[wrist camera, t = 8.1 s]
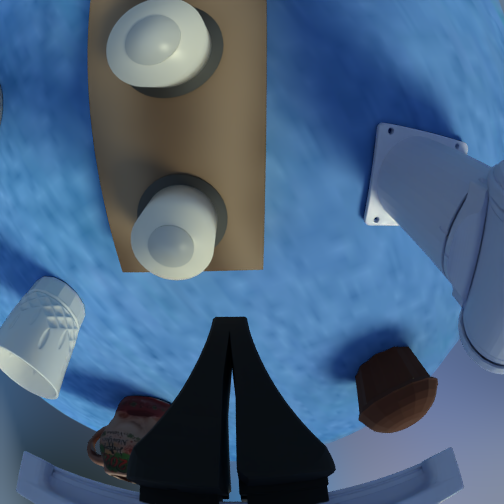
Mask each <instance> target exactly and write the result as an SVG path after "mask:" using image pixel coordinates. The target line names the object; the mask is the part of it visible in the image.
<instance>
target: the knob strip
mask: <svg viewBox="0 0 504 504" xmlns="http://www.w3.org/2000/svg"><path fill="white" fill-rule="evenodd" d="M145 1H147V0H91V1H90V12H89V26H88V89H89V104H90V116H91V125H92V134H93V142H94V149H95V156H96V162H97V168H98V174H99V179H100V184H101V190H102V194H103V199H104V204H105V208H106V213H107V217H108V221H109V225H110V229H111V233H112V237H113V240H114V244H115V248H116V251H117V255H118V258H119V261H120V265H121V268H122V271H123V272H149V271H148V270H147V269H145V268H144V267H143V266H142V265H141V264H140V262H139V261H138V260H137V258H136V257H135V255H134V252H133V250H132V246H131V232H132V228H133V226H134V224H135V222H136V221H137V219H138V218H139V216H140V215H141V213H142V212H143V210H144V209H145V207H146V206H147V204H148V203H149V202H150V200H151V199H152V197H153V196H154V195H155V194H156V193H157V192H159V191H160V190H162V189H163V188H166V187H169V186H172V185H187V186H191V187H193V188H196V189H198V190H200V191H201V192H203V193H204V194H205V195H206V196H207V197H208V198H209V199H210V200H211V202H212V203H213V205H214V207H215V209H216V213H217V229H216V237H215V245H214V253H213V257H212V259H211V262H210V263H209V265H208V266H207V267H206V269H205V270H204V271H230V270H263V254H264V215H265V167H266V90H267V0H182V1H184V2H186V3H188V4H190V5H191V6H192V7H194V8H195V9H196V10H197V11H198V13H199V14H200V16H201V18H202V20H203V22H204V24H205V26H206V28H207V30H208V32H209V34H210V38H211V53H210V56H209V59H208V61H207V63H206V65H205V66H204V68H203V69H202V70H201V71H200V72H199V73H198V74H197V75H196V76H195V77H194V78H192V79H191V80H189V81H187V82H186V83H183V84H181V85H178V86H174V87H166V88H161V87H138V86H133V85H130V84H127V83H125V82H123V81H122V80H120V79H119V78H118V77H117V76H116V75H115V74H114V73H113V72H112V70H111V68H110V66H109V64H108V61H107V55H106V47H107V41H108V38H109V35H110V33H111V31H112V29H113V27H114V25H115V24H116V23H117V21H118V20H119V19H120V18H121V17H122V16H123V15H124V14H125V13H126V12H127V11H128V10H130V9H131V8H133V7H134V6H136V5H138V4H140V3H142V2H145Z"/></svg>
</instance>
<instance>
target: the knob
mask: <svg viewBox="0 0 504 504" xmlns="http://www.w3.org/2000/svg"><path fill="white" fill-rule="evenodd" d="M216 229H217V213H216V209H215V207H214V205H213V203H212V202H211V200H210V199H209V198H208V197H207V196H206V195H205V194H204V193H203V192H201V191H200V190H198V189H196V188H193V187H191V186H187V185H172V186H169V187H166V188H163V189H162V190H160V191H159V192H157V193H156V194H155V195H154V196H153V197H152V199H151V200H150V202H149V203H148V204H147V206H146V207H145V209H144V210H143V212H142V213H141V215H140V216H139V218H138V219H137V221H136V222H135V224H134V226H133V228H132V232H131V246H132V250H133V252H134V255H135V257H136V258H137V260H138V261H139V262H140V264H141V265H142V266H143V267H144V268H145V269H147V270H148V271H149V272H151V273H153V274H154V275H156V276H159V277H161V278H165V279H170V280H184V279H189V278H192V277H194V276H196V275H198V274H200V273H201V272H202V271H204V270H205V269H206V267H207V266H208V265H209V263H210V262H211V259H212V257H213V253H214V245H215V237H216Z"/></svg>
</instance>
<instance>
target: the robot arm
mask: <svg viewBox="0 0 504 504" xmlns="http://www.w3.org/2000/svg"><path fill="white" fill-rule="evenodd" d="M389 128H391V133H390V134H389V133H388V129H389ZM455 145H456V147H455ZM467 151H468V146H467V144H466V143H464V142H462V141H458V140H455V139H452V138H448V137H445V136H441V135H437V134H433V133H430V132H426V131H421V130H417V129H413V128H408V127H404V126H399V125H394V124H388V123H380V124H379V125H378V126H377V132H376V142H375V150H374V158H373V165H372V172H371V179H370V185H369V191H368V197H367V203H366V208H365V214H364V222H365V223H366V224H367V225H387V226H400V227H401V228H402V229H403V230H404V231H405V232H406V233H407V234H408V235H409V236H410V237H411V238H412V239H413V240H414V241H415V242H416V244H417V245H418V246H419V247H420V248H421V249H422V250H423V251H424V252H425V253H426V255H427V256H428V257H429V258H430V259H431V260H432V261H433V263H434V264H435V265H436V266H437V267H438V268H439V270H440V271H441V272H442V273H443V274H444V276H445V277H446V278H447V279H448V280H449V282H450V283H451V284H452V287H453V292H452V295H453V296H454V298H455V299H456V300H457V302H458V303H459V304H460V306H461V307H462V309H461V312H460V315H459V322H458V329H459V336H460V340H461V342H462V345H463V347H464V349H465V350H466V352H467V353H468V355H469V356H470V357H471V359H472V360H473V361H474V362H475V363H477V364H478V365H479V366H480V367H482V368H484V369H485V370H487V371H490V372H493V373H498V374H504V160H503V161H501V162H500V163H499V164H496V165H495V166H493V167H490V166H488V165H486V164H484V163H482V162H480V161H478V160H476V159H474V158H472V157H470V156H468V155H467ZM375 217H377V219H376V220H375V221H374V218H375ZM232 371H233V379H234V388H235V396H236V452H237V473H238V478H239V493H240V495H241V501H242V502H223V499H229V493H230V492H231V480H230V460H229V431H228V411H229V398H230V387H231V375H232ZM335 470H336V469H335V464H334V461H333V459H332V457H331V455H330V453H329V451H328V449H327V447H326V446H325V445H324V444H323V443H322V442H321V441H320V440H319V439H318V438H317V437H316V436H315V435H314V434H313V433H312V432H311V431H310V430H309V429H308V428H307V427H306V426H305V425H304V424H303V422H302V421H301V420H300V419H299V418H298V416H297V415H296V414H295V413H294V412H293V410H292V409H291V408H290V407H289V405H288V404H287V403H286V401H285V400H284V398H283V397H282V395H281V394H280V392H279V391H278V389H277V388H276V386H275V385H274V383H273V381H272V380H271V378H270V376H269V374H268V373H267V371H266V369H265V367H264V365H263V363H262V361H261V359H260V356H259V354H258V352H257V350H256V347H255V345H254V342H253V339H252V337H251V334H250V330H249V326H248V321H247V318H246V317H215V318H214V319H213V322H212V326H211V329H210V332H209V335H208V338H207V341H206V343H205V346H204V348H203V350H202V352H201V355H200V357H199V359H198V361H197V363H196V365H195V367H194V369H193V371H192V373H191V375H190V376H189V378H188V380H187V382H186V383H185V385H184V386H183V388H182V390H181V391H180V393H179V394H178V396H177V397H176V398H175V400H174V401H173V403H172V404H171V406H170V407H169V408H168V410H167V411H166V412H165V413H164V415H163V416H162V417H161V418H160V419H159V420H158V422H157V423H156V424H155V425H154V426H153V427H152V429H151V430H150V431H149V432H148V433H147V434H146V435H145V436H144V437H143V438H142V439H141V440H140V441H139V442H138V443H137V444H136V445H135V446H134V447H133V449H132V451H131V454H130V457H129V460H128V466H127V476H126V478H127V479H128V480H129V481H131V482H134V483H136V484H138V485H140V492H135V491H130V490H126V489H121V488H118V487H114V486H110V485H107V484H103V483H100V482H97V481H93V480H90V479H87V478H84V477H81V476H78V475H76V474H73V473H70V472H68V471H65V470H63V469H60V468H58V467H56V466H53V465H52V464H51V463H49V462H47V461H45V460H43V459H41V458H39V457H37V456H35V455H33V454H31V453H29V452H26V451H24V453H23V458H22V462H21V466H20V471H19V477H18V482H17V489H16V491H17V493H19V494H20V495H22V496H24V497H25V498H27V499H29V500H30V501H32V502H33V503H35V504H439V503H441V502H443V501H444V500H446V499H447V498H449V497H451V496H453V495H454V494H456V493H457V492H459V491H461V490H462V489H463V488H464V485H463V481H462V478H461V474H460V471H459V468H458V464H457V461H456V459H455V455H454V452H453V449H452V448H451V447H450V448H448V449H446V450H444V451H442V452H440V453H438V454H436V455H434V456H432V457H430V458H428V459H426V460H424V461H423V462H422V463H420V464H417V465H415V466H413V467H410V468H408V469H405V470H403V471H400V472H397V473H395V474H392V475H389V476H386V477H383V478H380V479H377V480H374V481H370V482H367V483H364V484H360V485H356V486H353V487H349V488H345V489H340V490H336V491H332V492H328V489H327V485H328V476H329V475H331V474H332V473H334V471H335Z"/></svg>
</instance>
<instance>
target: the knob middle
mask: <svg viewBox="0 0 504 504" xmlns="http://www.w3.org/2000/svg"><path fill="white" fill-rule="evenodd" d="M210 53H211V38H210V34H209V32H208V30H207V28H206V26H205V24H204V22H203V20H202V18H201V16H200V14H199V13H198V11H197V10H196V9H195V8H194V7H192V6H191V5H190V4H188V3H186V2H184V1H182V0H147V1H145V2H142V3H140V4H138V5H136V6H134V7H133V8H131V9H130V10H128V11H127V12H126V13H125V14H124V15H123V16H122V17H121V18H120V19H119V20H118V21H117V23H116V24H115V25H114V27H113V29H112V31H111V33H110V35H109V38H108V41H107V47H106V55H107V61H108V64H109V66H110V68H111V70H112V72H113V73H114V74H115V75H116V76H117V77H118V78H119V79H120V80H122V81H123V82H125V83H127V84H130V85H133V86H138V87H161V88H166V87H174V86H178V85H181V84H183V83H186V82H187V81H189V80H191V79H192V78H194V77H195V76H196V75H197V74H198V73H199V72H200V71H201V70H202V69H203V68H204V66H205V65H206V63H207V61H208V59H209V56H210Z"/></svg>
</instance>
